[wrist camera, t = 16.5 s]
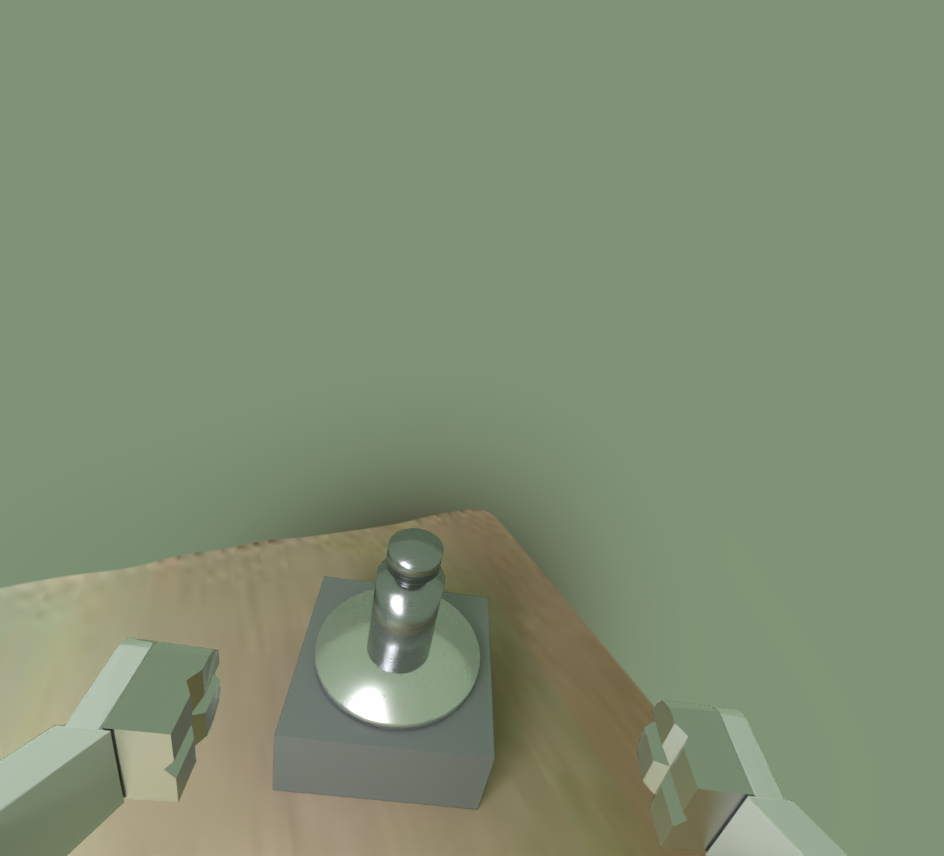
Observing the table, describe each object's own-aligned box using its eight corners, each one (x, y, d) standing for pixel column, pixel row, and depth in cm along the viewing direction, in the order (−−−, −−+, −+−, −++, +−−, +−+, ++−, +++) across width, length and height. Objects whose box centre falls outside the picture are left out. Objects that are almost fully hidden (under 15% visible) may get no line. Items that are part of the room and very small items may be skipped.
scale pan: (294, 720, 36) (295, 712, 36) (333, 585, 47) (334, 578, 46) (479, 740, 37) (481, 732, 37) (476, 603, 48) (478, 596, 47)
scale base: (272, 789, 38) (274, 735, 35) (321, 621, 51) (325, 571, 48) (477, 809, 39) (494, 758, 37) (475, 640, 52) (487, 592, 49)
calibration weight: (362, 669, 39) (376, 565, 35) (371, 618, 43) (385, 519, 39) (428, 676, 40) (450, 575, 35) (431, 625, 44) (451, 528, 39)
